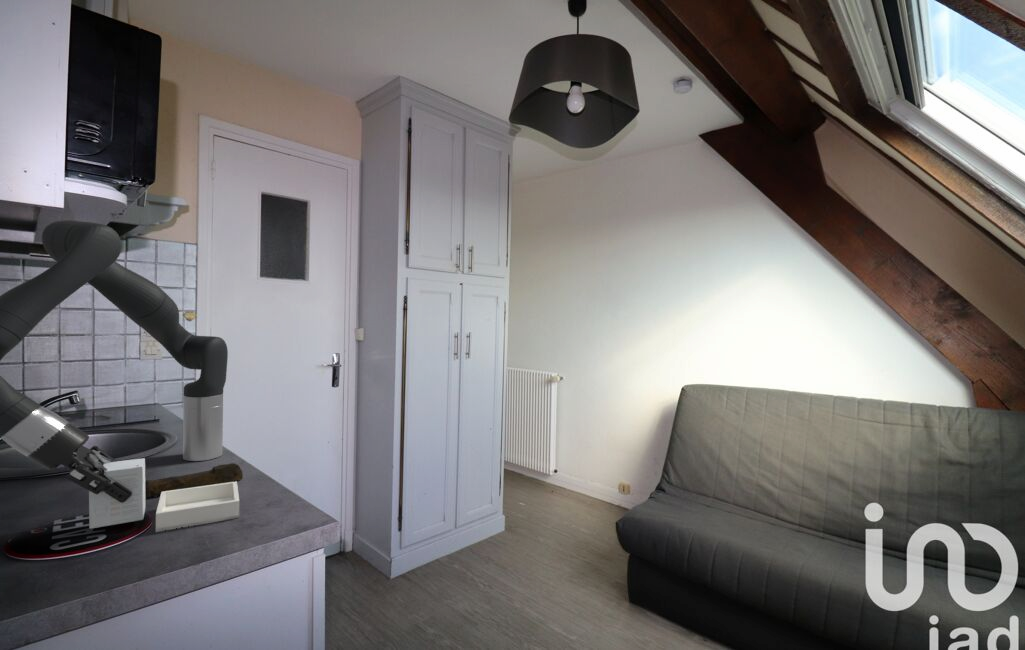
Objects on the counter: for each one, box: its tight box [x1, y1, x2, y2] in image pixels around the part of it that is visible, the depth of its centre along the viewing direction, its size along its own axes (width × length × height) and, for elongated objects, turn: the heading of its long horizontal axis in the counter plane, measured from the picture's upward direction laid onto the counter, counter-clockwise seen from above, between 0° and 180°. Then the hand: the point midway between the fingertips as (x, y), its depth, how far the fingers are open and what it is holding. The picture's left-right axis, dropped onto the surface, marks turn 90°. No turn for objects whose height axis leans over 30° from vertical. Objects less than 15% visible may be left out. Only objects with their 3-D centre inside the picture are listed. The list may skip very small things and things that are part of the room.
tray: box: [155, 481, 240, 533], centre depth 100 cm, size 12×14×4 cm
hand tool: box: [145, 462, 243, 499], centre depth 112 cm, size 19×4×5 cm, turn 128°
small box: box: [88, 457, 147, 530], centre depth 93 cm, size 8×6×10 cm
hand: (130, 492), depth 94 cm, fingers closed on small box, 5 cm apart
